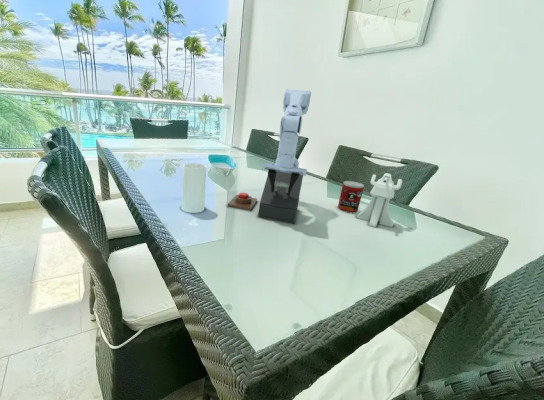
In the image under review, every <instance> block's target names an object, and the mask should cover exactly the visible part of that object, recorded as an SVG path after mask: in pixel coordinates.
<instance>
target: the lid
mask: <svg viewBox="0 0 544 400" xmlns="http://www.w3.org/2000/svg"><path fill="white" fill-rule="evenodd" d="M291 175H292V174H291V173H284V172H277V173H276V178H275V183H274V186H275V188H274V192H271V183H270V179H269V176H268V175H267V177H266V180H265V183H264V186H263V190H262V193H261V197H260V201H259V205H260V204H263V205H269V206H274V207H280V208H285V209H291V210H297V211H298V208H297V205H298V206H299V203H298V200H299V201H300V195H301V189H302V185H303V184H302V183H303V179H304V176H303V175H299V177H298V179H297V180H296V182H295V184H294V185H293V187H292V189H291V192H290V195H288V190H289V186H290V179H291Z"/></svg>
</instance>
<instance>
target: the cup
mask: <svg viewBox="0 0 544 400" xmlns="http://www.w3.org/2000/svg"><path fill="white" fill-rule="evenodd" d="M181 174H182V175H181V177H182V178H181V179H182V180H181V210H182V211H183V212H185V213H190V214H197V213H202V212H204V210H205V201H206V185H207V164H203V163H196V162H189V163H183V164H182V173H181Z"/></svg>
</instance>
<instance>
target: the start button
mask: <svg viewBox="0 0 544 400" xmlns="http://www.w3.org/2000/svg"><path fill="white" fill-rule="evenodd" d="M238 194H239V198H243V199H247V198H248V195H249V193H247V192H239V193H238Z"/></svg>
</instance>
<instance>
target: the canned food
mask: <svg viewBox="0 0 544 400" xmlns="http://www.w3.org/2000/svg"><path fill="white" fill-rule="evenodd" d="M364 187H365V185H364V184H363V183H361V182H358V181H351V180H345V181H343V183H342V187H341V190H340V195H339V198H338V199H339V200H338V204H337V208H338V209H339V210H340V211H342V212H345V213H351V214H354V213H357V212H358V210H359V209H360V204H361V199H362V196H363V192H364Z"/></svg>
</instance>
